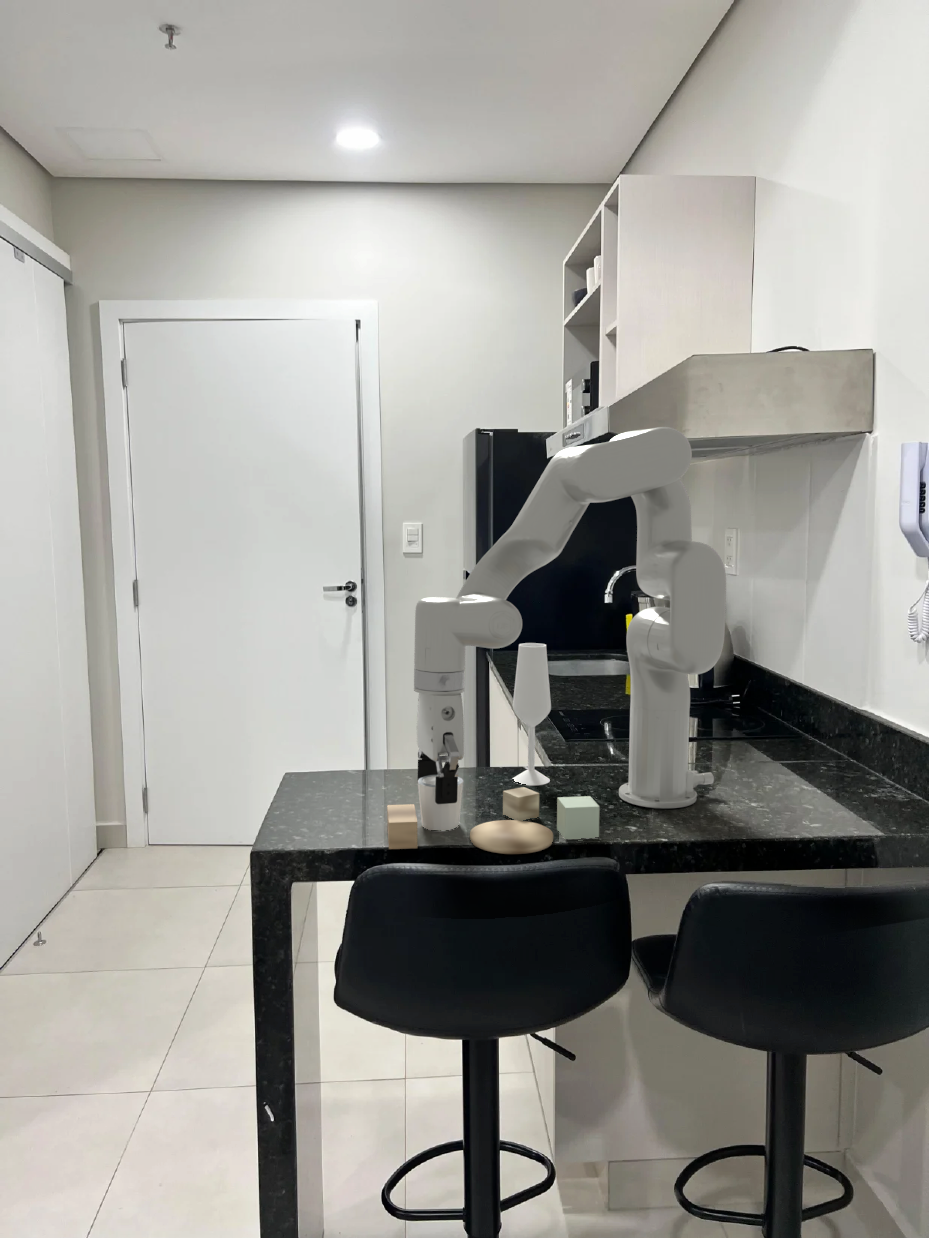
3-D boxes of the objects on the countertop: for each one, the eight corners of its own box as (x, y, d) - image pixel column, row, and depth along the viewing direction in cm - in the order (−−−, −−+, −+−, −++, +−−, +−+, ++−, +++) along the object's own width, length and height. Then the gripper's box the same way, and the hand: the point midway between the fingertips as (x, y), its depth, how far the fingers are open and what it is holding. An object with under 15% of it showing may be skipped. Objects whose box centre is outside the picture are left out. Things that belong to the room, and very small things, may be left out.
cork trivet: (534, 821, 143) (534, 816, 143) (566, 848, 132) (566, 843, 132) (459, 829, 140) (459, 824, 140) (485, 858, 128) (485, 852, 128)
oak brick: (387, 831, 140) (387, 804, 139) (414, 830, 140) (414, 804, 140) (388, 850, 132) (388, 822, 131) (417, 849, 132) (417, 821, 132)
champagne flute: (543, 773, 170) (545, 641, 167) (555, 784, 163) (557, 647, 160) (507, 775, 168) (508, 642, 165) (517, 786, 162) (519, 648, 159)
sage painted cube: (589, 828, 141) (590, 796, 140) (598, 840, 136) (599, 806, 135) (556, 830, 140) (557, 797, 140) (565, 841, 135) (565, 807, 135)
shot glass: (472, 824, 142) (472, 779, 141) (441, 836, 137) (441, 789, 136) (439, 814, 147) (439, 770, 146) (408, 825, 142) (408, 780, 141)
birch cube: (523, 811, 149) (523, 786, 148) (538, 818, 145) (539, 793, 145) (502, 815, 146) (502, 791, 146) (518, 823, 143) (518, 797, 143)
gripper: (482, 690, 132) (479, 809, 134) (446, 670, 149) (443, 776, 150) (431, 692, 130) (428, 812, 132) (400, 672, 146) (398, 779, 148)
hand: (436, 793), depth 141 cm, fingers open, 9 cm apart
